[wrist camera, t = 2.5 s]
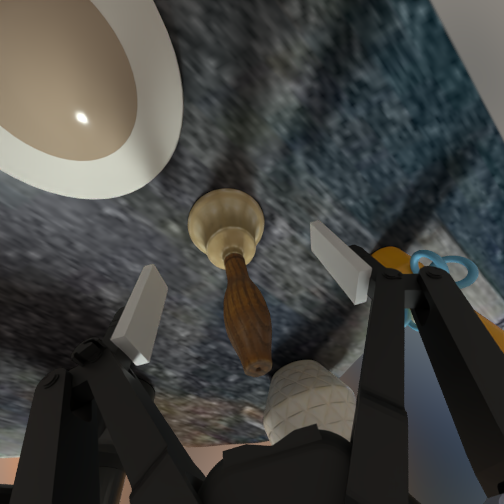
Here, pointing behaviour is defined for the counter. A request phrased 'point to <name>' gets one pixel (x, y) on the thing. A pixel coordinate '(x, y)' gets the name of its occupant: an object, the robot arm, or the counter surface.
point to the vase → (308, 401)
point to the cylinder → (411, 265)
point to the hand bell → (236, 270)
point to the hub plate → (87, 95)
